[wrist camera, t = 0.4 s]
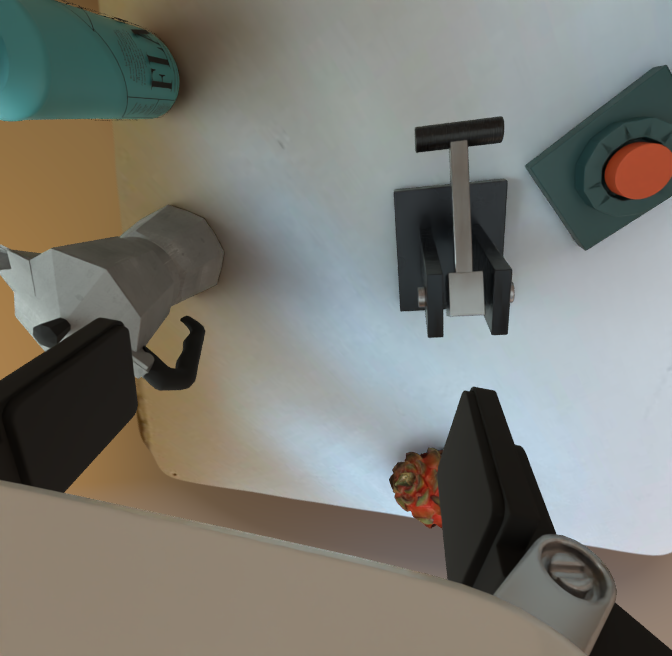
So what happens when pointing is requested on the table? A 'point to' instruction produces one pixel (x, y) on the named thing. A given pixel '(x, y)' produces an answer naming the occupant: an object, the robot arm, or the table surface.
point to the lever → (461, 205)
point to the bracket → (451, 250)
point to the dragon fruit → (419, 486)
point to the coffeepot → (121, 287)
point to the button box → (605, 159)
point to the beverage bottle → (80, 65)
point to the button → (639, 170)
